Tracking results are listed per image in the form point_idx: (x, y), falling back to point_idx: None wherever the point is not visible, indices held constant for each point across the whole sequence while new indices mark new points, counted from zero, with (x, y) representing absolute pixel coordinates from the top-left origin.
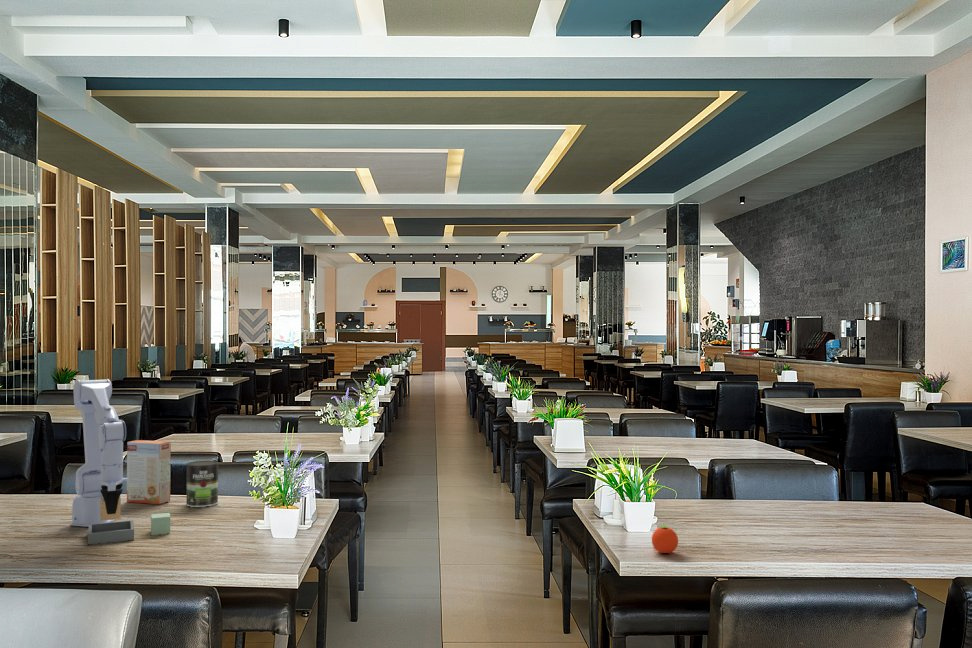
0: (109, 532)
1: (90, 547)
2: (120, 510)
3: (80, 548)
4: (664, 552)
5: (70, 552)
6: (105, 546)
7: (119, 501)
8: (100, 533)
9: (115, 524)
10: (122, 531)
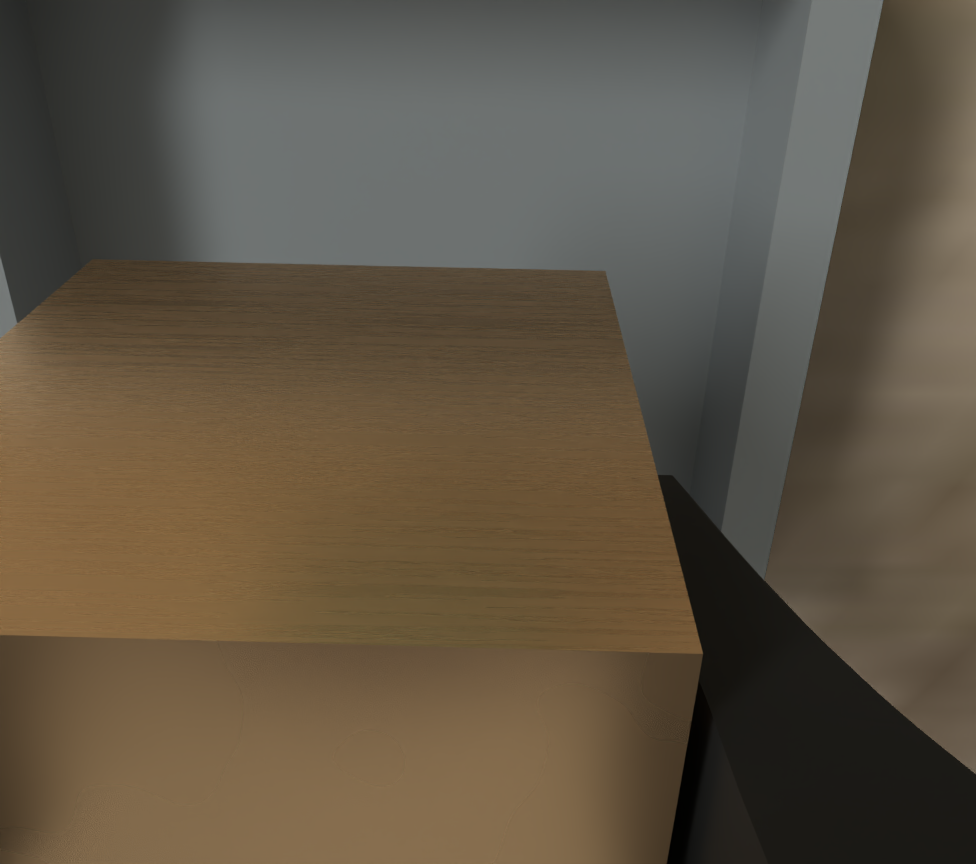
0: (793, 396)
1: (867, 544)
2: (627, 379)
3: (838, 639)
4: None
5: (959, 722)
6: (951, 374)
7: (673, 625)
8: (768, 525)
9: (29, 267)
10: (841, 161)
